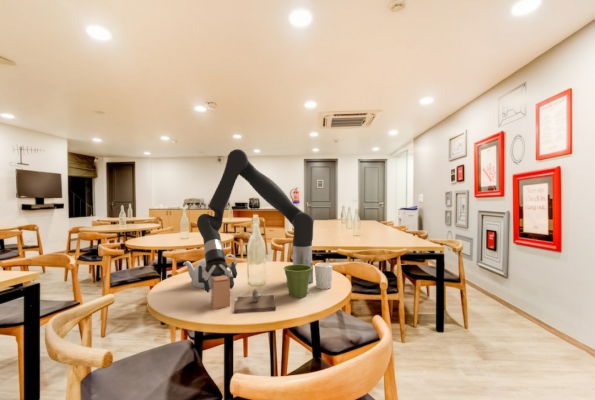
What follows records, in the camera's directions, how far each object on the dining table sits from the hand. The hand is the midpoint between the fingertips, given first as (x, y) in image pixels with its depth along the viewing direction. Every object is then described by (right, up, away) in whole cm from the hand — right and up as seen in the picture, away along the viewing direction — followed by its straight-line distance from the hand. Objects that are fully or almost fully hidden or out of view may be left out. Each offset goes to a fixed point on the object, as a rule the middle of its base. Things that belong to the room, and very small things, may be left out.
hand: (220, 289), depth 96 cm
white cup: (+41, -6, +20) cm, 46 cm away
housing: (0, -6, 0) cm, 6 cm away
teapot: (-12, -6, +26) cm, 30 cm away
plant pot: (+29, -6, +10) cm, 31 cm away
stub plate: (+13, -6, 0) cm, 14 cm away
